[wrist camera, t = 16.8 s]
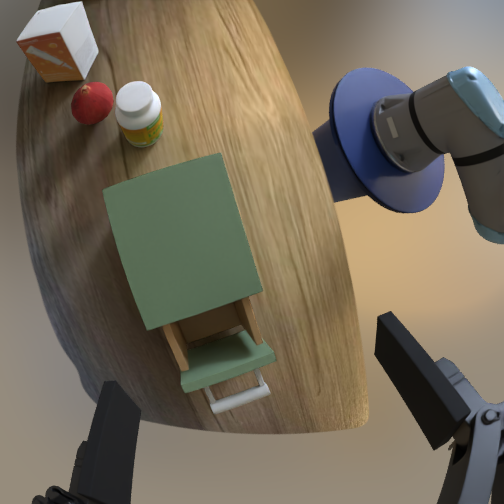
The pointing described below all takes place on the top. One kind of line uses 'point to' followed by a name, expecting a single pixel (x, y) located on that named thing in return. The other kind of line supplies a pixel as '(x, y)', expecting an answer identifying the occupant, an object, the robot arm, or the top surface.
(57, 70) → the small box
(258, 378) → the drawer
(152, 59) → the top surface
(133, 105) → the supplement bottle
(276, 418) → the top surface
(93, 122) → the onion
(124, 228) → the cabinet
